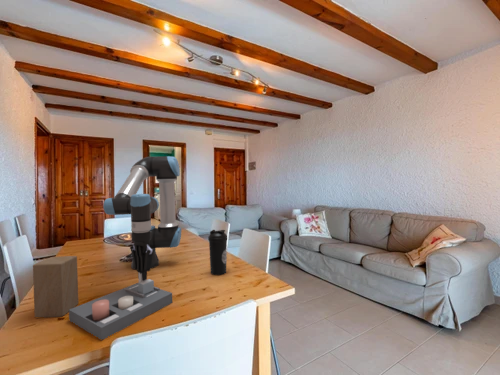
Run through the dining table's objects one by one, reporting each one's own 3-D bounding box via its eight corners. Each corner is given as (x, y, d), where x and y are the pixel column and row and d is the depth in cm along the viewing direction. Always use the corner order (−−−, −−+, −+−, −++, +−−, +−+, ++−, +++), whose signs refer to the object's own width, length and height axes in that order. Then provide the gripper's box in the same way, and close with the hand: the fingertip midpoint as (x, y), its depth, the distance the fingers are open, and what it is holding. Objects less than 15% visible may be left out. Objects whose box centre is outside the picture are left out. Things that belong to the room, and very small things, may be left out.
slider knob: (138, 293, 101) (138, 282, 101) (149, 288, 105) (149, 278, 105) (143, 294, 99) (142, 284, 99) (153, 290, 104) (153, 280, 104)
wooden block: (53, 305, 101) (51, 256, 101) (79, 303, 102) (77, 255, 101) (34, 318, 91) (32, 264, 91) (62, 316, 92) (61, 263, 91)
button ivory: (115, 313, 92) (115, 299, 92) (128, 307, 96) (128, 294, 96) (123, 316, 90) (123, 303, 89) (136, 310, 94) (135, 297, 94)
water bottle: (224, 276, 129) (223, 232, 128) (206, 275, 131) (205, 232, 130) (230, 269, 139) (229, 228, 138) (212, 268, 141) (212, 228, 140)
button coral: (89, 318, 84) (89, 304, 84) (104, 312, 89) (104, 298, 89) (97, 322, 82) (96, 308, 82) (112, 315, 86) (112, 301, 86)
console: (69, 320, 89) (68, 306, 89) (139, 290, 113) (139, 280, 113) (101, 340, 78) (101, 324, 78) (172, 302, 102) (172, 290, 101)
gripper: (123, 231, 103) (125, 287, 104) (143, 234, 96) (144, 294, 97) (139, 228, 110) (141, 281, 110) (159, 230, 103) (160, 287, 103)
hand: (142, 287), depth 104 cm, fingers closed
